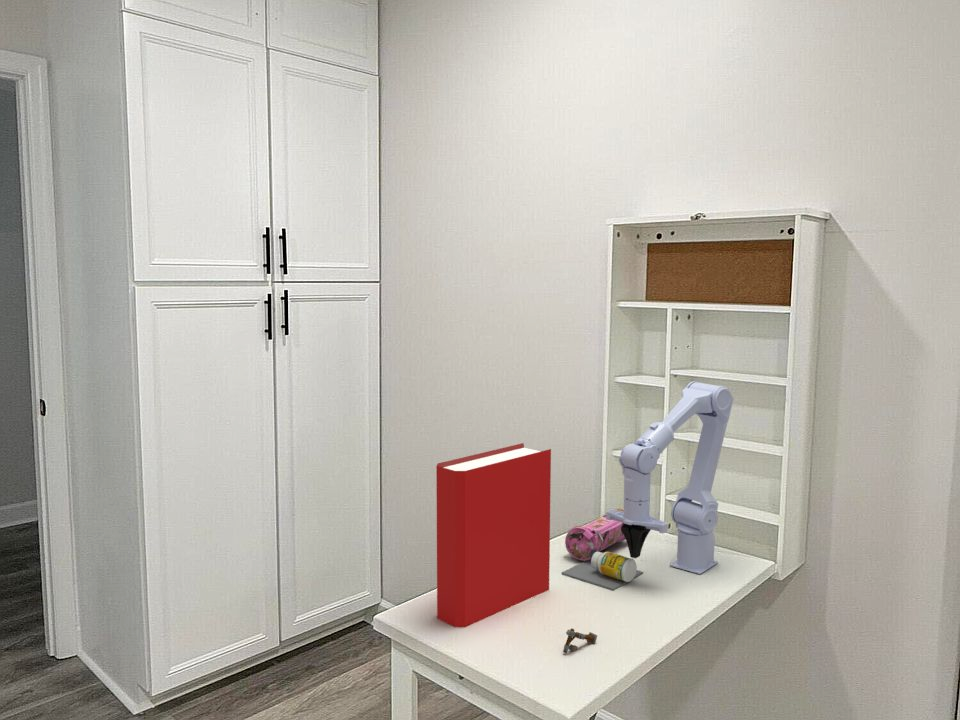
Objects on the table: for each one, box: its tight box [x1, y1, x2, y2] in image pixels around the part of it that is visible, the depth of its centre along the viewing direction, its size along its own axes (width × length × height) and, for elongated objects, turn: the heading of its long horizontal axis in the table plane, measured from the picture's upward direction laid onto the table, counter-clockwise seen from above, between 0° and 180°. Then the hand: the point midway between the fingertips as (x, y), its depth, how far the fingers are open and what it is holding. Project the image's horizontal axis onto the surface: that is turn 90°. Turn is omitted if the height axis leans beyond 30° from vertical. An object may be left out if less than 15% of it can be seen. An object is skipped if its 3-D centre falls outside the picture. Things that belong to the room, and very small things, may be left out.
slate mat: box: [561, 558, 644, 591], centre depth 186 cm, size 13×14×1 cm
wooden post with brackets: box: [562, 628, 599, 654], centre depth 150 cm, size 2×8×4 cm, turn 130°
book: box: [436, 442, 552, 628], centre depth 168 cm, size 27×8×32 cm, turn 135°
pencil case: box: [564, 507, 626, 562], centre depth 200 cm, size 21×9×9 cm, turn 142°
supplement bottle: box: [591, 551, 638, 583], centre depth 183 cm, size 5×5×10 cm
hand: (635, 556), depth 179 cm, fingers closed
